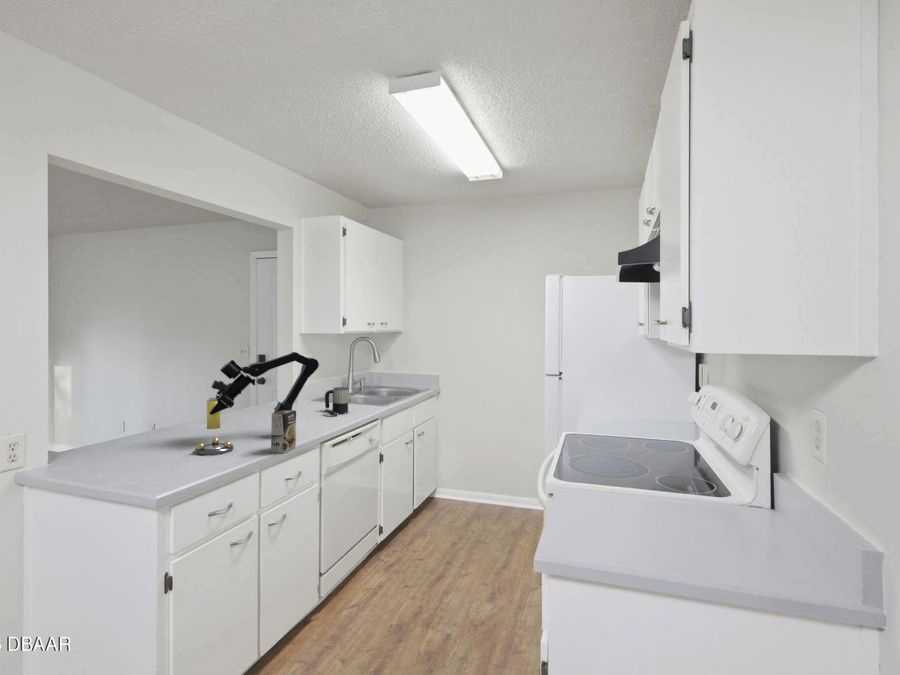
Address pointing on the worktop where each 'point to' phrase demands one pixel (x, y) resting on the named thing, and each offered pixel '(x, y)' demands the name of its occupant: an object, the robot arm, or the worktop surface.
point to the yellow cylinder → (213, 419)
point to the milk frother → (337, 400)
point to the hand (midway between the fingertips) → (210, 412)
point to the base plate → (214, 447)
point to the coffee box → (283, 431)
